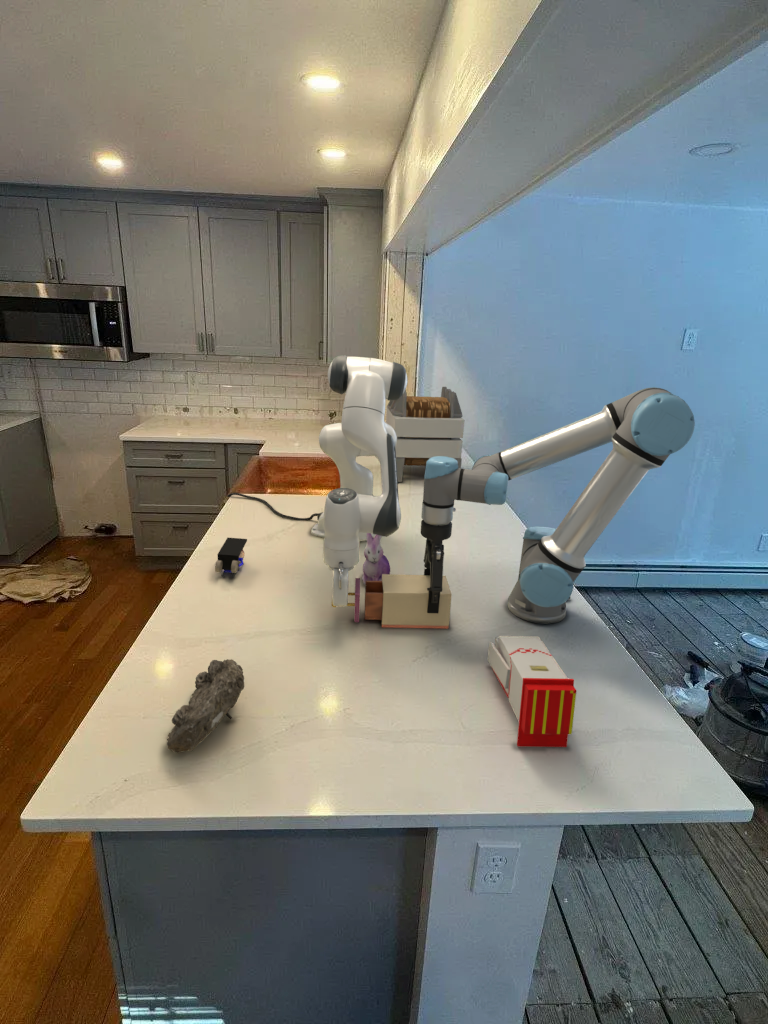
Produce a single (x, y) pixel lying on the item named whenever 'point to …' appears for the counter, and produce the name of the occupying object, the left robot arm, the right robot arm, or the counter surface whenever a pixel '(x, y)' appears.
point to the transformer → (426, 428)
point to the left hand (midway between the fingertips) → (340, 604)
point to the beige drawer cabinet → (413, 602)
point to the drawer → (368, 600)
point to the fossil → (206, 705)
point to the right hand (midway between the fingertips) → (430, 601)
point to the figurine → (374, 560)
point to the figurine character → (230, 556)
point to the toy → (534, 690)
